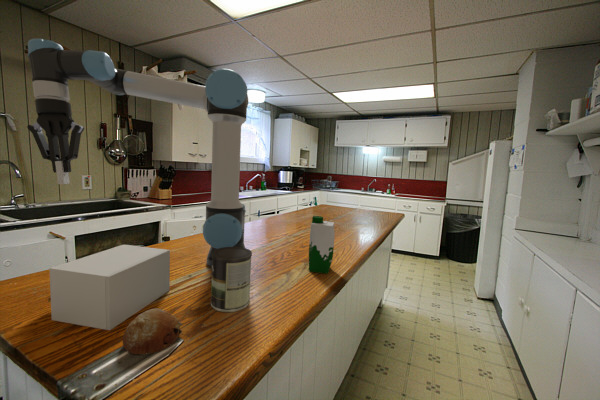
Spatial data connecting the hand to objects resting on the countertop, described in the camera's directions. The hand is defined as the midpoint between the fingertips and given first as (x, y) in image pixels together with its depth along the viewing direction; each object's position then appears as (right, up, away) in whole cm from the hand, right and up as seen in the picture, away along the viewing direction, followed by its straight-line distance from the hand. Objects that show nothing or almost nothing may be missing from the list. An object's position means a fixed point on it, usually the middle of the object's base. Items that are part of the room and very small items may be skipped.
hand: (64, 183), depth 78 cm
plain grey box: (+22, -31, -10) cm, 39 cm away
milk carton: (+77, -31, +23) cm, 86 cm away
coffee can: (+50, -33, -6) cm, 60 cm away
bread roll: (+39, -34, -23) cm, 56 cm away
